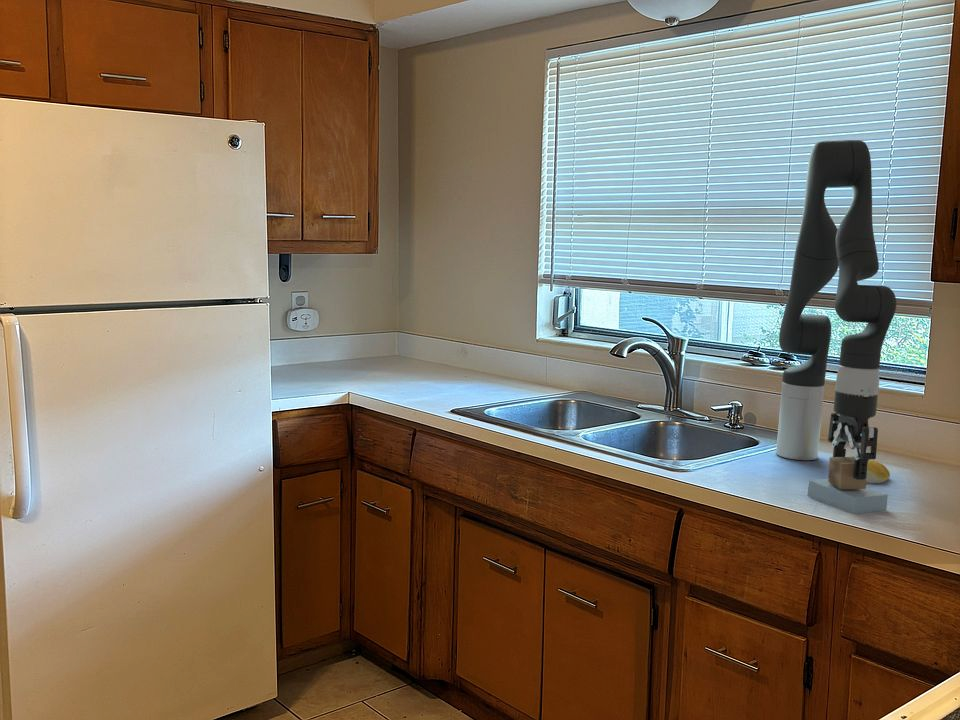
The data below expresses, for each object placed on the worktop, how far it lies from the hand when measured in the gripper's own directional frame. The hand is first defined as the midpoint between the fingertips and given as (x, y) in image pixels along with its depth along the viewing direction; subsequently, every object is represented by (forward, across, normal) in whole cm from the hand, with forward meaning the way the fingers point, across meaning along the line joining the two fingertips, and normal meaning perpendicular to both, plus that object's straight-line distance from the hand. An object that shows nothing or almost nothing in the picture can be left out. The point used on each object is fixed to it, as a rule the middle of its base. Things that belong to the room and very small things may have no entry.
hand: (848, 472), depth 172 cm
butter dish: (+6, 0, 0) cm, 6 cm away
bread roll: (+6, -18, +14) cm, 23 cm away
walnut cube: (+3, 0, 0) cm, 3 cm away
